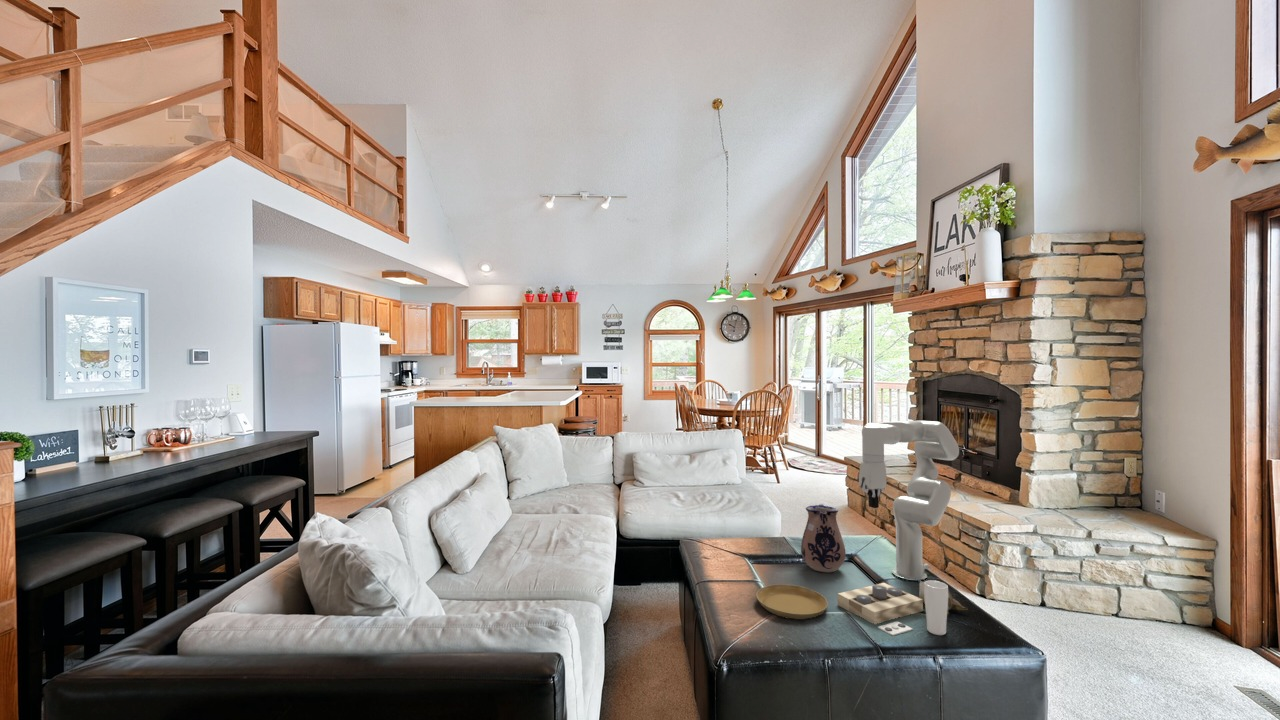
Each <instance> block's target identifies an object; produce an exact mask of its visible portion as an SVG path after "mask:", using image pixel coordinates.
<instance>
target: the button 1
mask: <svg viewBox="0 0 1280 720" xmlns="http://www.w3.org/2000/svg"><path fill="white" fill-rule="evenodd" d="M857 602H859V603H861V604H863V605H867V604H871V597H869V596H866V595H857Z"/></svg>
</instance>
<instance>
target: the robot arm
mask: <svg viewBox="0 0 1280 720" xmlns="http://www.w3.org/2000/svg"><path fill="white" fill-rule="evenodd" d="M861 438H862V442H861V443H862V446H861V447H862V448H861V449H862V461H861V462H860V466H859V473H858V474H859V475H858V486H859V488H860V489H861V492H862V493H865V494H866V495H867V497H868V507H870V508H871V509H872V508H873V509H878V508H879V503H880V502H879V497H880V496H881V493H882V492H884V491H886V488H887V487H886V486H887V482H888V481H887V469H886V468H887V467H886V462H885V445H891V446H893V445H896V444H898V443H907V444H908V443H914V445H913V449H914V455H915V460H916V461H915V462H916V466H915V470H914V472H913V474H912V475H911V477H910V480H909V482H908V483H907V486H906V494H907V495H908V496H907V495H901V496H898V497H896V498H895V499H894V500H893V503H892V510H893V511H892V512H893V516H894V520H895V521H894V522H895V563H896V564H895V567H894V568H893V569H896V570H893V569H892V570H891V572H892V571H893V573H895V574H897V575H899V576H901V577H904V578H908V579H915V578H916V579H925V578H927V579H928V575H927V573H925V570H928V569H930V568H931V567H930V564H929V563H924V564H923V532H922V529H921V526H920V525H925V526H928V527H935V526H937V525H938V524H939V523H940V521H941V519H942V517H943V516H944V513H945V512H946V509H947V507H948V505H949V502H950V500H951V495H952V490H951V487H950V485H949V484H948V482H947V481H945V480H943V479H938V477H939V469H938V467H937V465H936V464H935V462H934V461H933V460H935V459H936V460H941V461H942V460H943V461H954V460H956V459H957V458H958V457H959V455H960V448H959V444H958V442H957V441H956V439H955V438H954V436H953V434H952V432H951V430H950V429H949V428H948V427H947V426H946V425H945V424H944V423H943V422H940V421H936V420H933V421H932V420H919V419H918V420H906V421H904V420H902V421H883V422H868V423H866V424H864V426H863V427H862V429H861ZM919 524H920V525H919Z"/></svg>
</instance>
